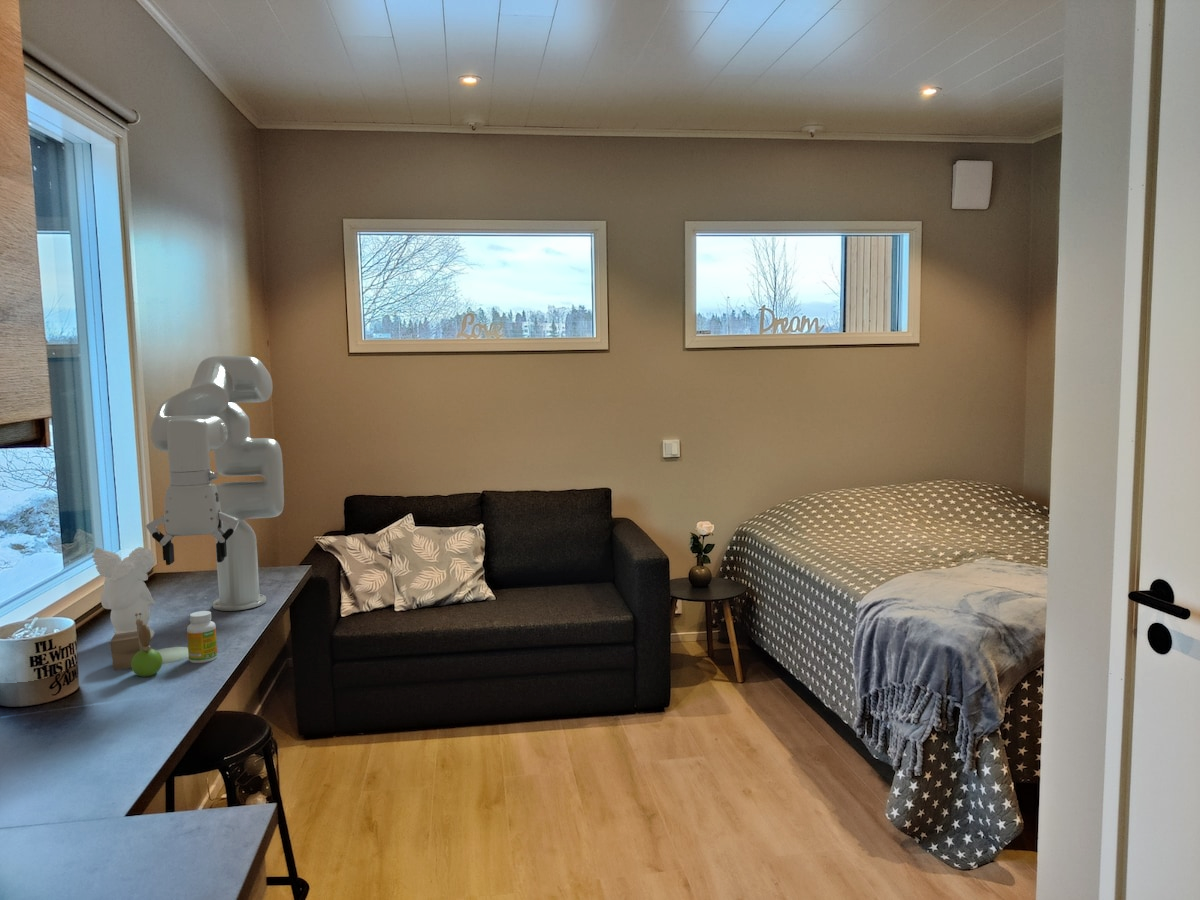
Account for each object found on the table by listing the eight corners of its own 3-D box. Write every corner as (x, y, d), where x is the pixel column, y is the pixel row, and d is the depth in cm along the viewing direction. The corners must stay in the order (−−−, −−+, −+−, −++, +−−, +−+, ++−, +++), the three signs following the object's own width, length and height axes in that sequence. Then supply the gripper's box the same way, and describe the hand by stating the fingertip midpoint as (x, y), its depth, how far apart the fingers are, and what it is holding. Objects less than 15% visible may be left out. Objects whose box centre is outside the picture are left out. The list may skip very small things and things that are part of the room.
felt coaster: (150, 650, 179) (149, 648, 179) (199, 647, 180) (199, 645, 180) (133, 667, 169) (133, 665, 169) (186, 663, 171) (186, 661, 171)
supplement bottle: (206, 664, 169) (203, 618, 168) (182, 663, 170) (179, 616, 169) (223, 655, 174) (220, 610, 173) (200, 654, 175) (197, 609, 174)
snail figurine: (156, 667, 168) (152, 609, 167) (167, 675, 164) (163, 616, 163) (126, 674, 165) (122, 615, 163) (136, 683, 160) (132, 622, 159)
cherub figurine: (157, 630, 193) (151, 536, 191) (166, 644, 183) (159, 545, 181) (96, 640, 186) (89, 544, 184) (102, 656, 176) (94, 553, 174)
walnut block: (118, 662, 171) (114, 634, 170) (145, 658, 173) (142, 630, 172) (113, 670, 166) (110, 641, 166) (141, 666, 168) (138, 637, 167)
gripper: (240, 475, 173) (244, 556, 175) (150, 478, 170) (156, 560, 172) (231, 479, 166) (236, 564, 168) (137, 483, 163) (143, 569, 164)
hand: (195, 562), depth 170 cm, fingers open, 9 cm apart
